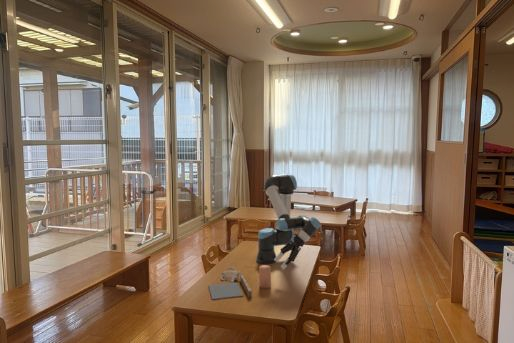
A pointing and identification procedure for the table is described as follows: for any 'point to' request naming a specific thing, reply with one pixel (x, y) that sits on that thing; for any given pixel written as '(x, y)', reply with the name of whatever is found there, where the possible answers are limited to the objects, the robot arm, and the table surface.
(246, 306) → the table surface
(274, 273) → the table surface
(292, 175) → the robot arm
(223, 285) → the mat
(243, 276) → the wooden plank
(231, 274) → the turtle
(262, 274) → the pink rounded cylinder
